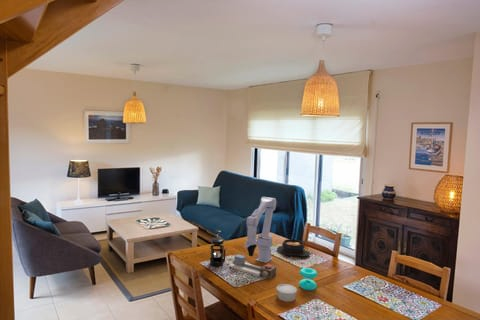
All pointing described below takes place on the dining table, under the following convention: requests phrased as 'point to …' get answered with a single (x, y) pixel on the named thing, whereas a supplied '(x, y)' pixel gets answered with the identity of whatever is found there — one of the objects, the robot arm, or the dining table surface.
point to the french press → (217, 258)
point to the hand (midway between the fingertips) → (250, 255)
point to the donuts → (308, 279)
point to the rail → (247, 268)
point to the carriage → (240, 259)
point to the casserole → (293, 248)
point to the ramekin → (286, 292)
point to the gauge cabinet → (267, 272)
